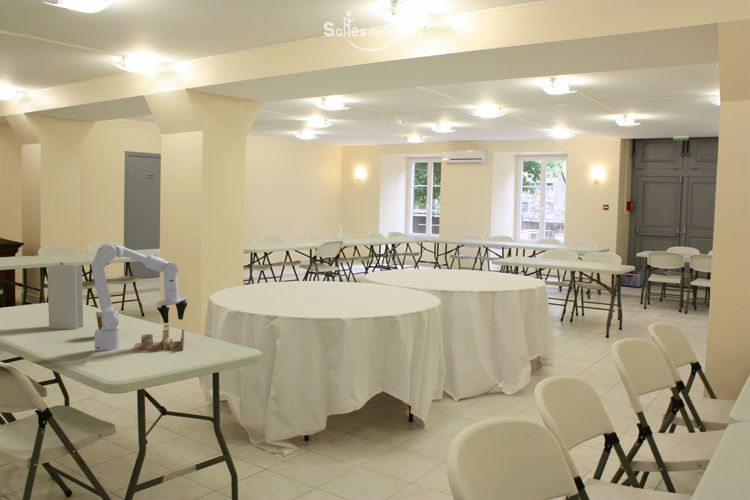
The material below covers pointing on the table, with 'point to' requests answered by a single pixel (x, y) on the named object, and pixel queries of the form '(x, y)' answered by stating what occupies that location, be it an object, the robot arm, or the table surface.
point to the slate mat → (160, 336)
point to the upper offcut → (147, 338)
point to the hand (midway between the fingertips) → (173, 321)
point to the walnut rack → (161, 346)
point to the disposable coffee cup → (99, 315)
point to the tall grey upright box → (65, 296)
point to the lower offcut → (146, 345)
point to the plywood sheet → (165, 336)
